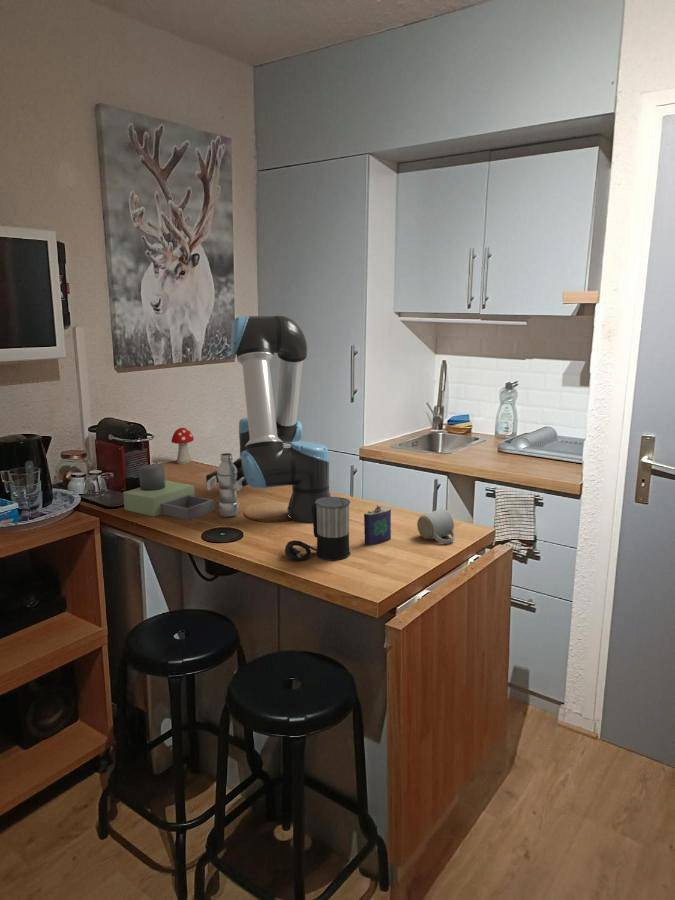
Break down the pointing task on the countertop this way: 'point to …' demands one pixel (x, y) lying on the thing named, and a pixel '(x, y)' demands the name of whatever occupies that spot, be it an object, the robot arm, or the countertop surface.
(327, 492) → the robot arm
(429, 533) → the ceramic mug
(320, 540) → the milk frother
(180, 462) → the decorative mushroom
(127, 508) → the green block with tray
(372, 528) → the flask
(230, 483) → the plastic bottle
